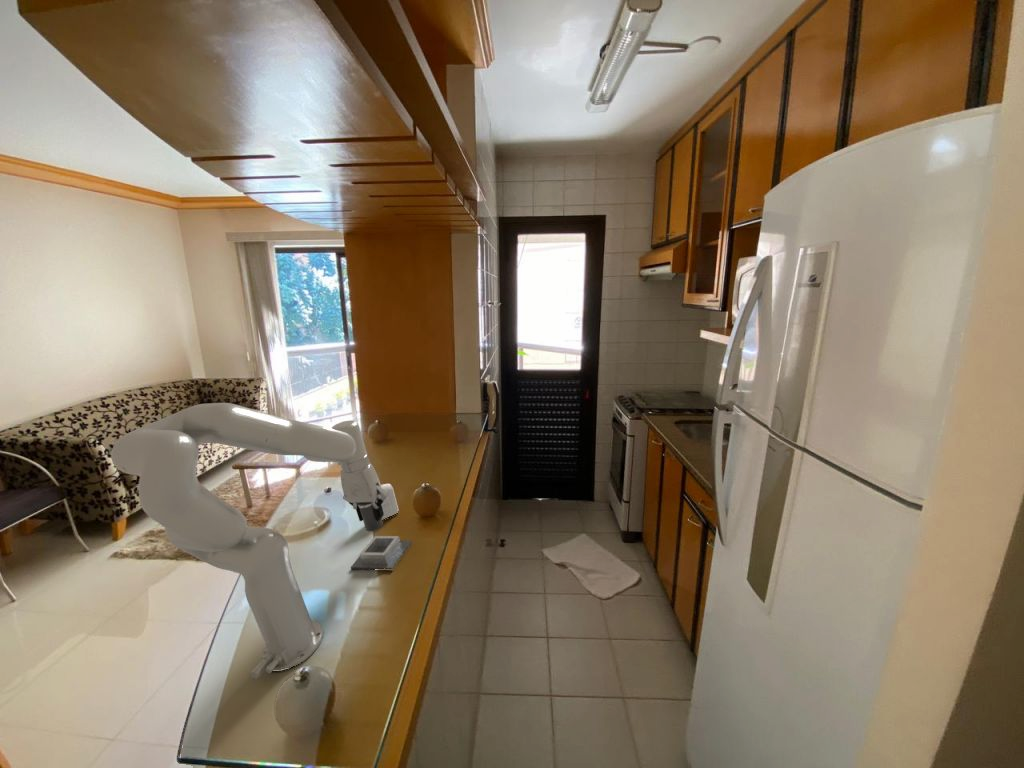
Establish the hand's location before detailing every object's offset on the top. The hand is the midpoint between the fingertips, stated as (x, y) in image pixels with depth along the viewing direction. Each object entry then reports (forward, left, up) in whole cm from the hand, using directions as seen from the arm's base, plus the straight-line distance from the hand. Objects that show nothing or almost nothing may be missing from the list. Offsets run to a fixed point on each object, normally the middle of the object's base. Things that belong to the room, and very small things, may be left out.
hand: (371, 517), depth 118 cm
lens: (0, 0, -3) cm, 3 cm away
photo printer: (+20, +11, -14) cm, 27 cm away
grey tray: (0, 0, -14) cm, 14 cm away
